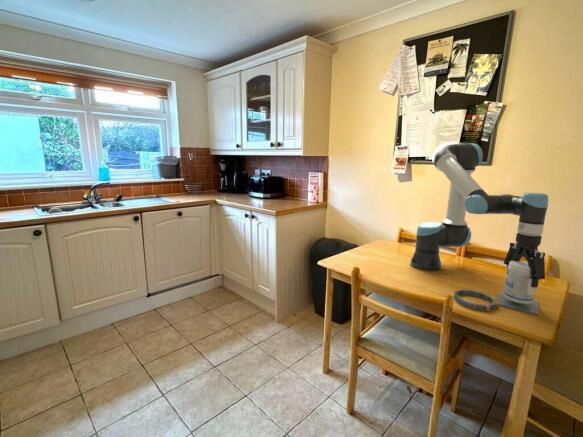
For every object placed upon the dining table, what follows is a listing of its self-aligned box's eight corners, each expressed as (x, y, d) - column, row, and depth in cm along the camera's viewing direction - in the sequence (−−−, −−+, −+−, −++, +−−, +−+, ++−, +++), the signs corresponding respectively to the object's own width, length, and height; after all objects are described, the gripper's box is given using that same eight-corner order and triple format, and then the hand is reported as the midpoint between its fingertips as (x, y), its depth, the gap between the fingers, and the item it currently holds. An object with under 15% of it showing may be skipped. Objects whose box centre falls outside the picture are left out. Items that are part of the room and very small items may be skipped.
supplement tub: (497, 293, 123) (502, 259, 120) (520, 293, 123) (525, 260, 120) (514, 304, 113) (521, 268, 110) (539, 305, 113) (546, 268, 110)
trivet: (496, 305, 117) (496, 303, 117) (498, 293, 127) (498, 292, 127) (538, 315, 109) (539, 314, 109) (537, 302, 120) (537, 301, 119)
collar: (451, 303, 118) (451, 298, 118) (457, 291, 129) (457, 286, 129) (496, 315, 109) (497, 310, 109) (498, 301, 120) (499, 296, 120)
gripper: (498, 227, 123) (490, 277, 128) (545, 241, 102) (534, 301, 106) (515, 227, 124) (507, 277, 128) (566, 241, 102) (554, 301, 106)
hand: (519, 288), depth 117 cm, fingers closed on supplement tub, 10 cm apart
